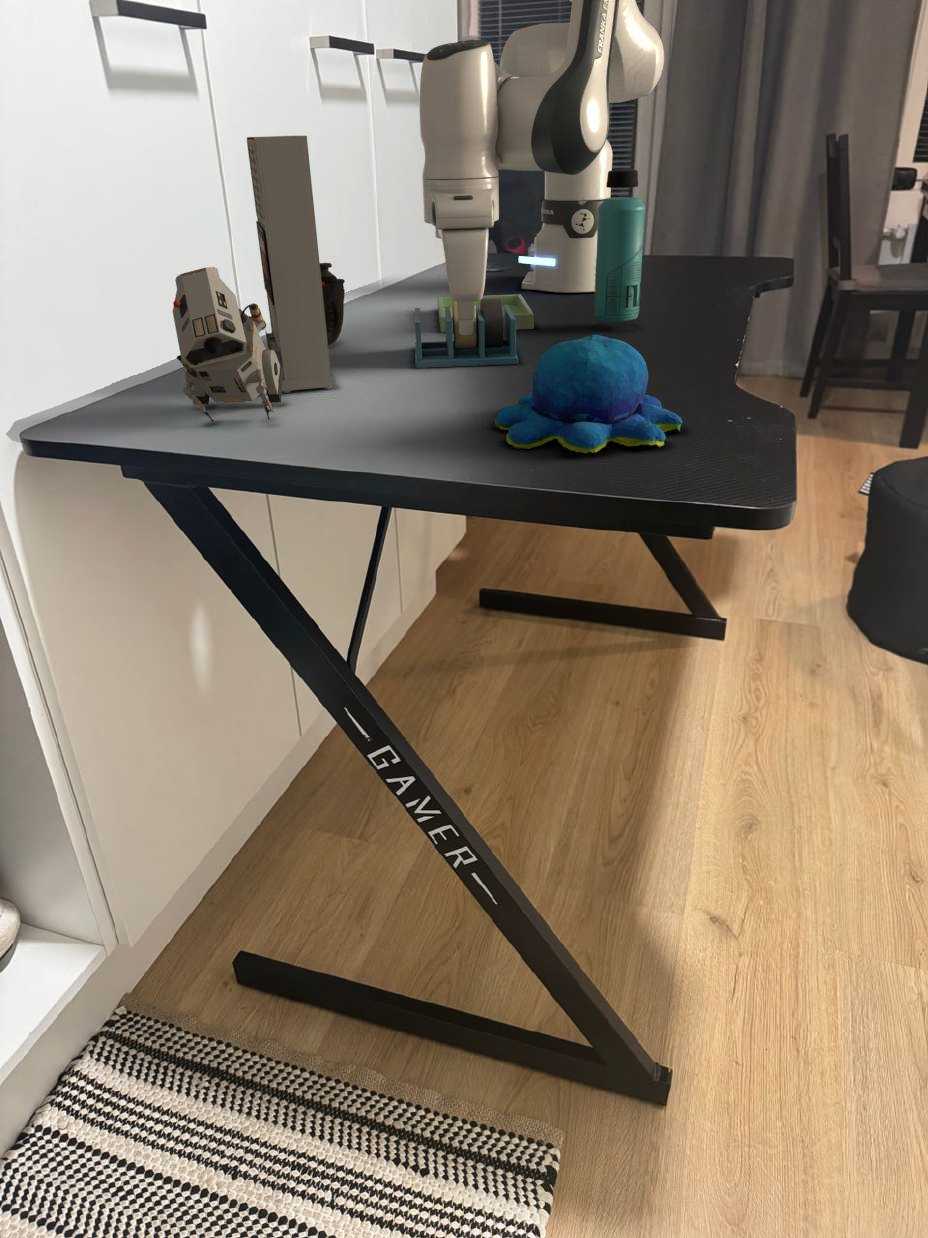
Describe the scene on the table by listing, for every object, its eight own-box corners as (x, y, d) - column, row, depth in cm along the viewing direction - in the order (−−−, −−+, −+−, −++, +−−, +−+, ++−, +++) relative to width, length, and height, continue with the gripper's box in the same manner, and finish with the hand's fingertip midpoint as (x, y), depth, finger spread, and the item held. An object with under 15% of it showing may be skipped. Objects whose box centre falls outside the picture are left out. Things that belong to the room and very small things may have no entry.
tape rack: (415, 348, 116) (413, 307, 114) (509, 344, 117) (509, 303, 114) (415, 368, 107) (413, 323, 104) (517, 364, 107) (518, 319, 105)
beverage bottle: (625, 334, 121) (634, 169, 111) (582, 329, 124) (588, 169, 114) (647, 325, 125) (658, 167, 115) (605, 321, 129) (613, 167, 119)
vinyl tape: (480, 345, 114) (479, 296, 111) (499, 344, 114) (498, 295, 111) (484, 352, 109) (483, 301, 106) (503, 352, 109) (503, 300, 106)
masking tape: (453, 342, 114) (451, 291, 111) (473, 342, 114) (472, 290, 111) (455, 356, 109) (453, 302, 105) (476, 355, 109) (475, 301, 105)
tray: (438, 310, 140) (437, 297, 139) (520, 307, 140) (520, 294, 140) (440, 332, 125) (440, 317, 124) (533, 328, 125) (533, 314, 125)
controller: (353, 337, 124) (347, 260, 119) (315, 357, 113) (306, 274, 108) (325, 336, 125) (318, 260, 120) (284, 355, 114) (274, 274, 110)
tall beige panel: (269, 366, 110) (238, 137, 97) (318, 362, 111) (294, 135, 99) (278, 394, 98) (244, 137, 86) (333, 389, 99) (308, 135, 87)
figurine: (193, 451, 92) (143, 352, 78) (203, 363, 96) (158, 256, 83) (280, 449, 92) (246, 349, 78) (287, 361, 96) (255, 253, 83)
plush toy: (645, 467, 74) (653, 366, 70) (467, 442, 81) (464, 349, 77) (699, 414, 87) (708, 326, 83) (540, 396, 94) (542, 315, 90)
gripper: (432, 199, 112) (437, 313, 119) (436, 213, 94) (441, 345, 101) (482, 198, 112) (483, 311, 119) (494, 211, 95) (496, 343, 101)
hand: (464, 327), depth 110 cm, fingers closed on masking tape, 6 cm apart
